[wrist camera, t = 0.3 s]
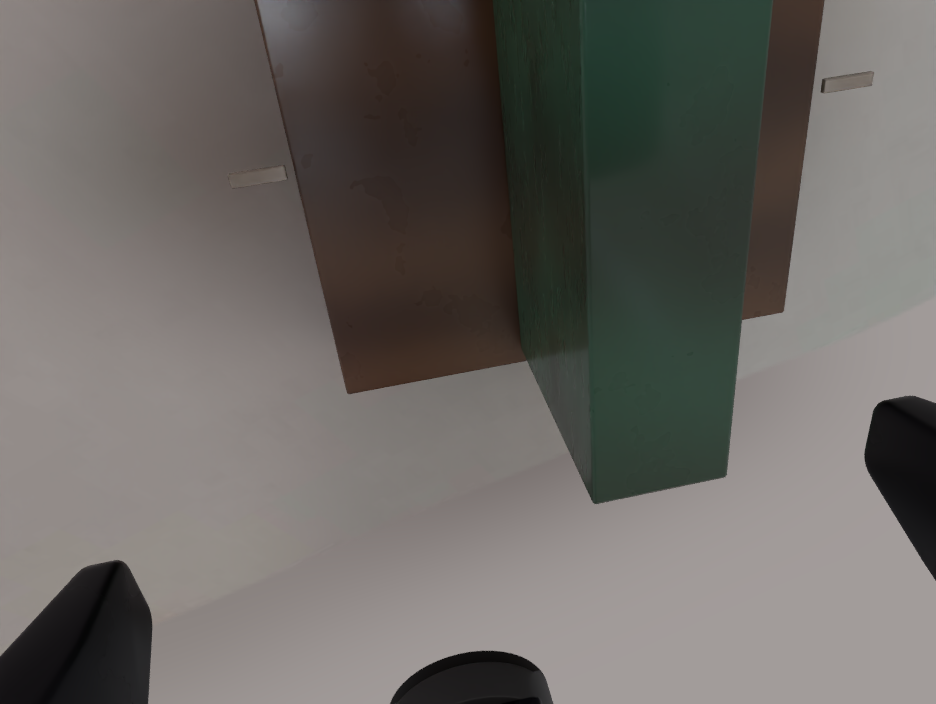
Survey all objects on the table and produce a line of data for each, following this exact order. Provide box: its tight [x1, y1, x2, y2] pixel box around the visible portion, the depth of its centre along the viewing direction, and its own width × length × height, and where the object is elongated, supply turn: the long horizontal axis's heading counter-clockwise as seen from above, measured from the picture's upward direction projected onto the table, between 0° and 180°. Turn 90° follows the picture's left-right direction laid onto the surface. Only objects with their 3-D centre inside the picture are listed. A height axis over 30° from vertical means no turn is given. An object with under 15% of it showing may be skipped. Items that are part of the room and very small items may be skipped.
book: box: [493, 0, 773, 504], centre depth 17 cm, size 13×3×7 cm, turn 6°
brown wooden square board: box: [228, 0, 874, 394], centre depth 21 cm, size 17×17×3 cm
